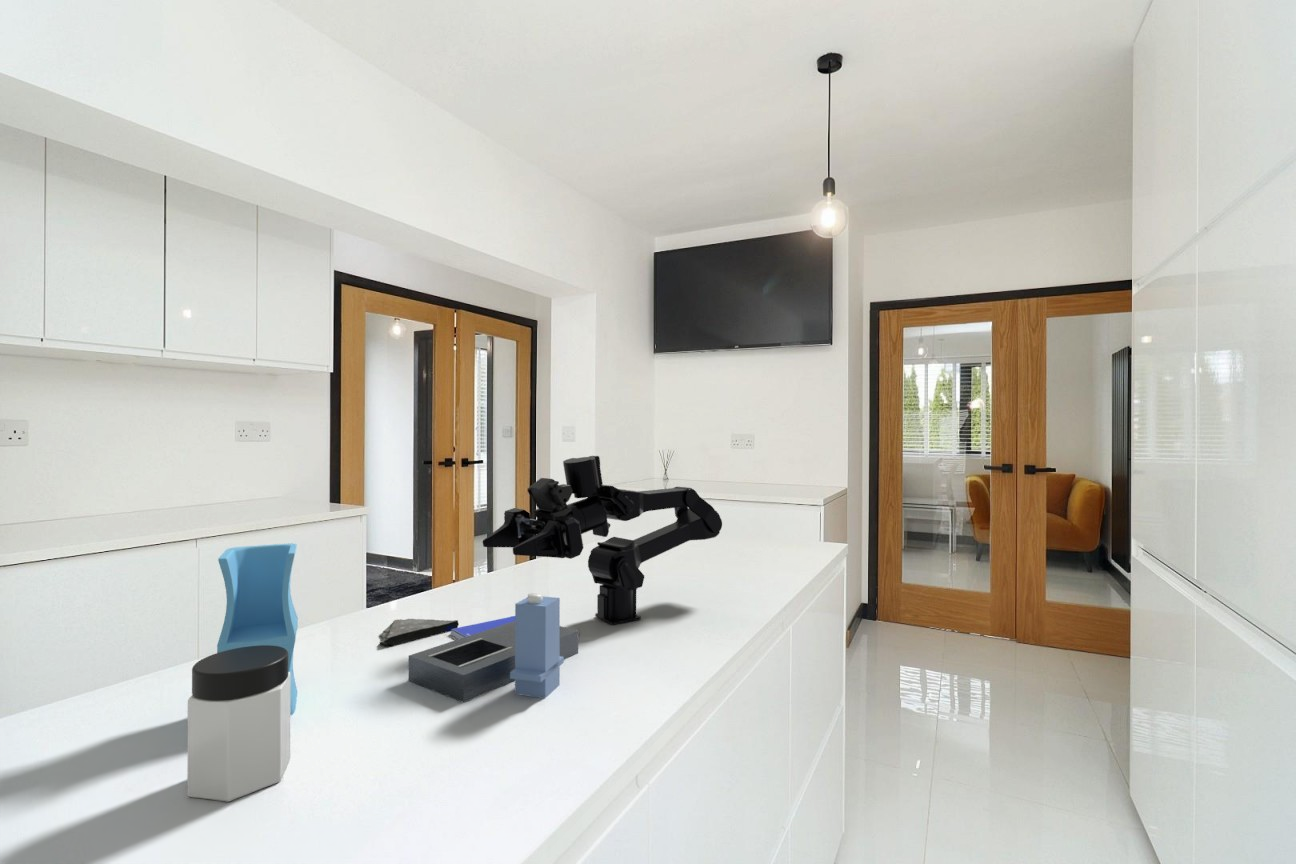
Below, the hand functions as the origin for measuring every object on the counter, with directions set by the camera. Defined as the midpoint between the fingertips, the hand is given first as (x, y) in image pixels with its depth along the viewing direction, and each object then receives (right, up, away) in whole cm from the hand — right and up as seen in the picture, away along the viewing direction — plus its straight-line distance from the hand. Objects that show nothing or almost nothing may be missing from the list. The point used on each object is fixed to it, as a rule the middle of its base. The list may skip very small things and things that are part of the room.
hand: (497, 547), depth 98 cm
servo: (+9, -17, -14) cm, 24 cm away
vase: (-25, -17, -21) cm, 36 cm away
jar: (-17, -17, -36) cm, 43 cm away
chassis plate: (+2, -17, -6) cm, 18 cm away
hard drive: (-3, -17, +10) cm, 20 cm away
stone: (-17, -17, +10) cm, 26 cm away
